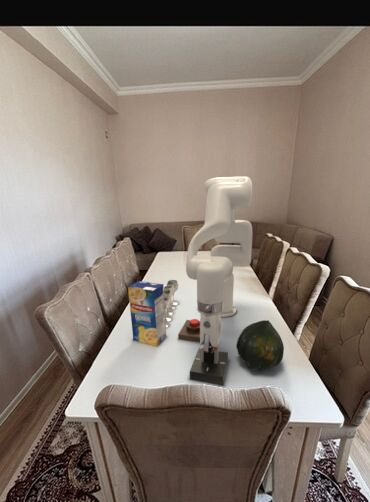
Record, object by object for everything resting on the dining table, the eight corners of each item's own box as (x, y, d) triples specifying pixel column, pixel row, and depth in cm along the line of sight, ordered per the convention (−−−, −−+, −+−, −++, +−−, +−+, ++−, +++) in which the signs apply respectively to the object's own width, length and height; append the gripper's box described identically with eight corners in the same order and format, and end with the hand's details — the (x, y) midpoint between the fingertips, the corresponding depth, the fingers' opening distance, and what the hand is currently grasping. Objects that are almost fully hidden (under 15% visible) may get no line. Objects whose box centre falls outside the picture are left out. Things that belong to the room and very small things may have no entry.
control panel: (198, 355, 86) (198, 347, 85) (228, 360, 83) (228, 352, 82) (189, 379, 75) (189, 370, 74) (223, 385, 72) (223, 376, 71)
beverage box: (157, 346, 92) (153, 290, 86) (133, 340, 97) (127, 286, 90) (166, 336, 98) (163, 284, 91) (143, 331, 102) (138, 280, 96)
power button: (191, 322, 101) (191, 318, 101) (200, 323, 100) (200, 319, 100) (189, 326, 98) (188, 322, 97) (198, 327, 97) (197, 323, 96)
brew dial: (201, 361, 78) (201, 347, 77) (202, 358, 80) (202, 344, 78) (217, 364, 77) (217, 349, 75) (218, 360, 78) (218, 346, 77)
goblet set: (168, 328, 104) (167, 299, 100) (155, 328, 105) (153, 299, 101) (180, 301, 130) (179, 277, 126) (169, 301, 131) (167, 277, 127)
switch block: (186, 324, 107) (186, 315, 106) (209, 327, 104) (209, 318, 103) (178, 339, 96) (178, 330, 95) (203, 342, 93) (203, 333, 92)
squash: (228, 358, 75) (265, 326, 71) (228, 334, 90) (259, 306, 85) (262, 388, 76) (301, 359, 71) (257, 359, 90) (289, 333, 86)
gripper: (218, 319, 64) (217, 378, 70) (226, 295, 79) (225, 345, 84) (190, 316, 66) (191, 374, 72) (203, 293, 81) (203, 342, 86)
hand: (210, 358), depth 78 cm, fingers closed
